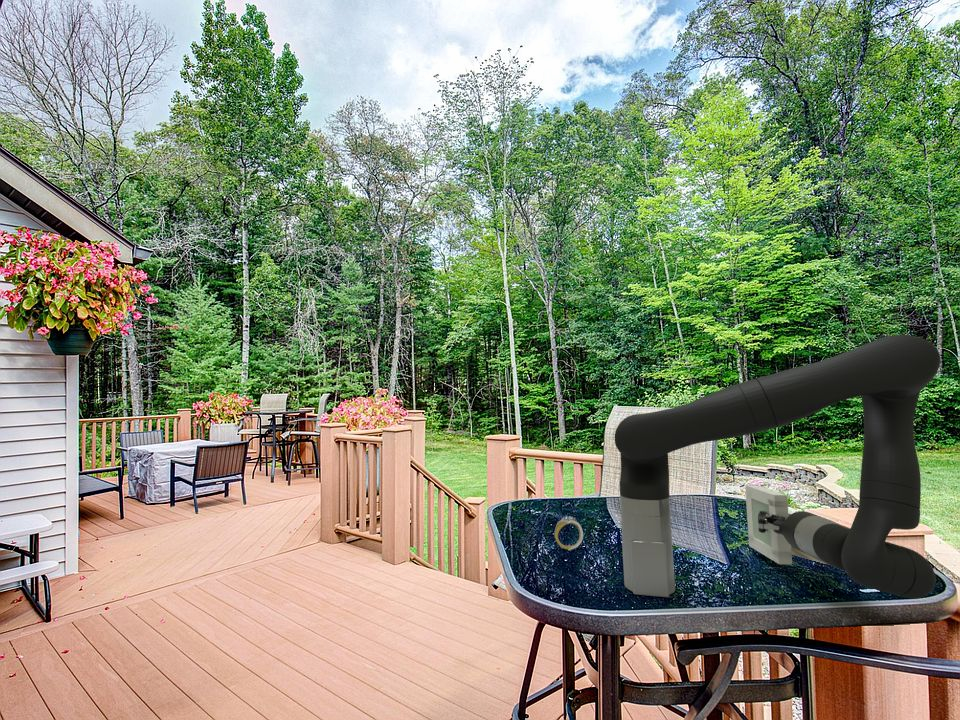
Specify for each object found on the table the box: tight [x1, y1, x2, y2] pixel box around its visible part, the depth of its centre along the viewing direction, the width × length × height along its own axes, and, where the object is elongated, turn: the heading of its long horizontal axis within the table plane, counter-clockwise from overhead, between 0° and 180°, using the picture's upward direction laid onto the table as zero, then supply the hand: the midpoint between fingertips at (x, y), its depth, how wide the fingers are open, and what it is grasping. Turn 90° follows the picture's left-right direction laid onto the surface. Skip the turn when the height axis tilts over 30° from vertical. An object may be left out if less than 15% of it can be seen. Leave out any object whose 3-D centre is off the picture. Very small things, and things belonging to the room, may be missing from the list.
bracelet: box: [554, 515, 584, 551], centre depth 114 cm, size 7×3×8 cm, turn 89°
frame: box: [744, 484, 793, 565], centre depth 103 cm, size 13×3×14 cm, turn 174°
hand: (768, 515), depth 102 cm, fingers closed on frame, 2 cm apart
